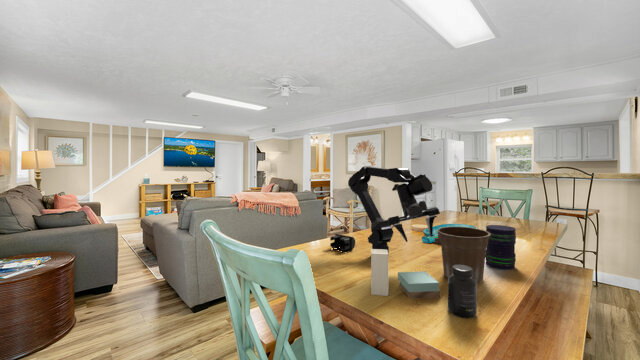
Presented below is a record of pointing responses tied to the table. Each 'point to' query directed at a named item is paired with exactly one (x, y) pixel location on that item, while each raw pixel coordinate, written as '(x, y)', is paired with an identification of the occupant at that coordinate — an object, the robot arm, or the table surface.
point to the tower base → (420, 293)
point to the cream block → (379, 272)
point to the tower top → (418, 281)
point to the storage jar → (501, 247)
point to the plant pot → (464, 249)
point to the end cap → (342, 242)
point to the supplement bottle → (462, 292)
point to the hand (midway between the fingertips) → (419, 239)
